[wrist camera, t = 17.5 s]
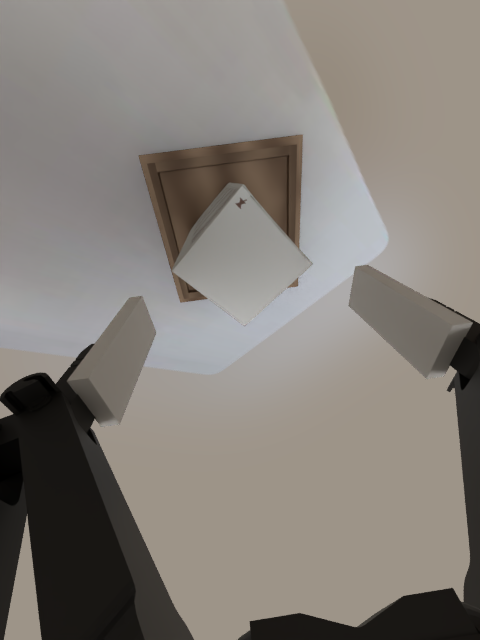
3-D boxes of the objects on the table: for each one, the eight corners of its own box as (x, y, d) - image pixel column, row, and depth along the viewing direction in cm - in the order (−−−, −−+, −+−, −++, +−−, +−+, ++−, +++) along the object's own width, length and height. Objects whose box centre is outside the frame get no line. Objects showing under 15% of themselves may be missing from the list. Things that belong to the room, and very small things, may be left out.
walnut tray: (181, 299, 40) (179, 305, 38) (141, 156, 29) (135, 154, 27) (295, 283, 40) (299, 288, 39) (299, 136, 29) (305, 133, 27)
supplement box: (187, 232, 33) (165, 269, 19) (229, 179, 30) (239, 177, 16) (234, 273, 37) (244, 330, 23) (275, 230, 34) (316, 265, 20)
